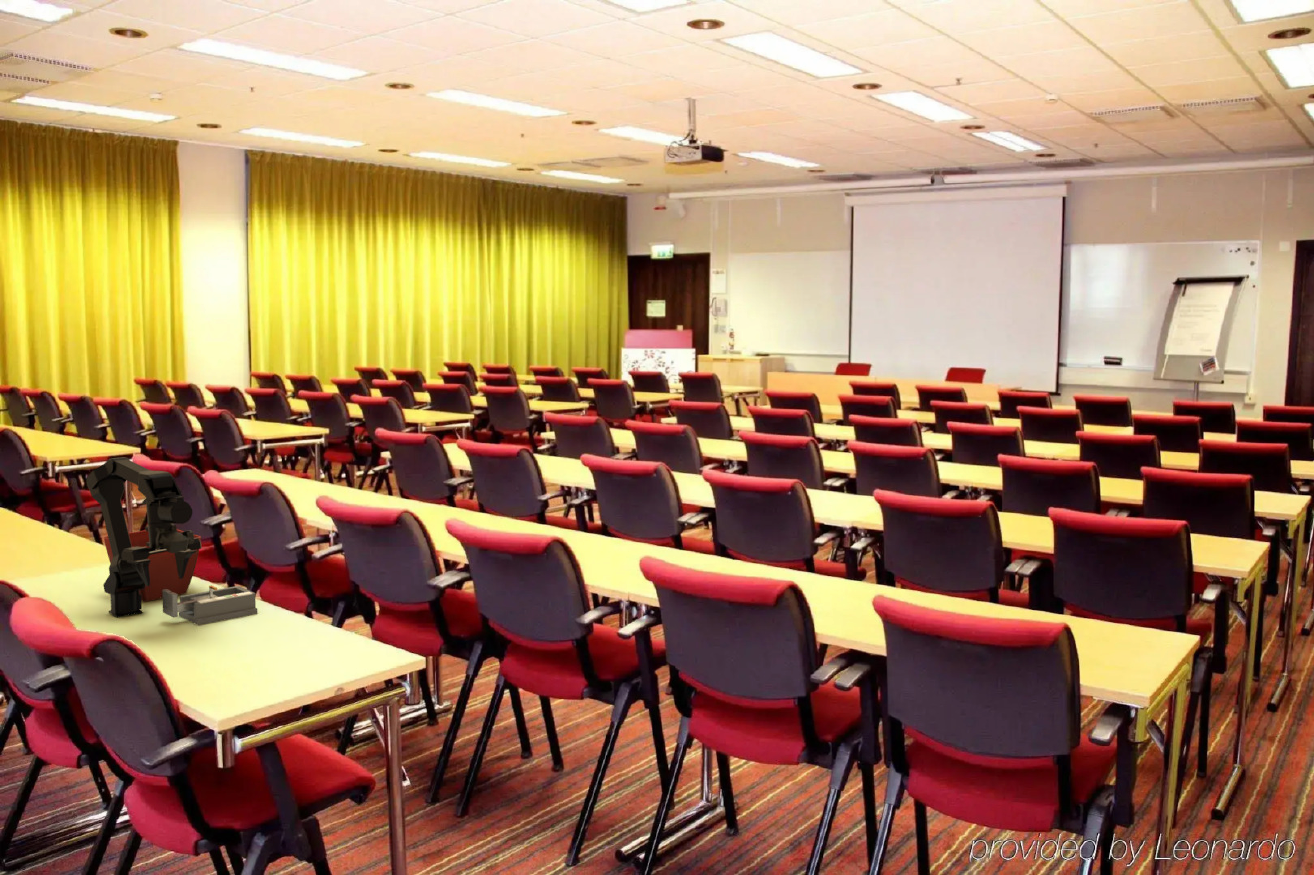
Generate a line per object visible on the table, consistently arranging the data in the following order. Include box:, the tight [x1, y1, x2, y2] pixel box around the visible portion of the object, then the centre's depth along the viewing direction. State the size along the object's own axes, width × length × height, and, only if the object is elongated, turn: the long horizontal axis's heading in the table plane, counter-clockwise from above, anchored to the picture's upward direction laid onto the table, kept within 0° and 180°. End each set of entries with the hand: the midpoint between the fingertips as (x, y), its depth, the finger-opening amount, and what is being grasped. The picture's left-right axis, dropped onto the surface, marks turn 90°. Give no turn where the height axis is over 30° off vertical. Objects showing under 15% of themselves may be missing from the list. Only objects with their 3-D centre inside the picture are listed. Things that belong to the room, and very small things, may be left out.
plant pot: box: [103, 528, 202, 602], centre depth 297 cm, size 19×19×17 cm
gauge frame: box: [178, 585, 258, 626], centre depth 280 cm, size 16×12×6 cm
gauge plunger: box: [161, 585, 218, 619], centre depth 274 cm, size 13×9×7 cm
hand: (164, 582), depth 266 cm, fingers open, 9 cm apart
